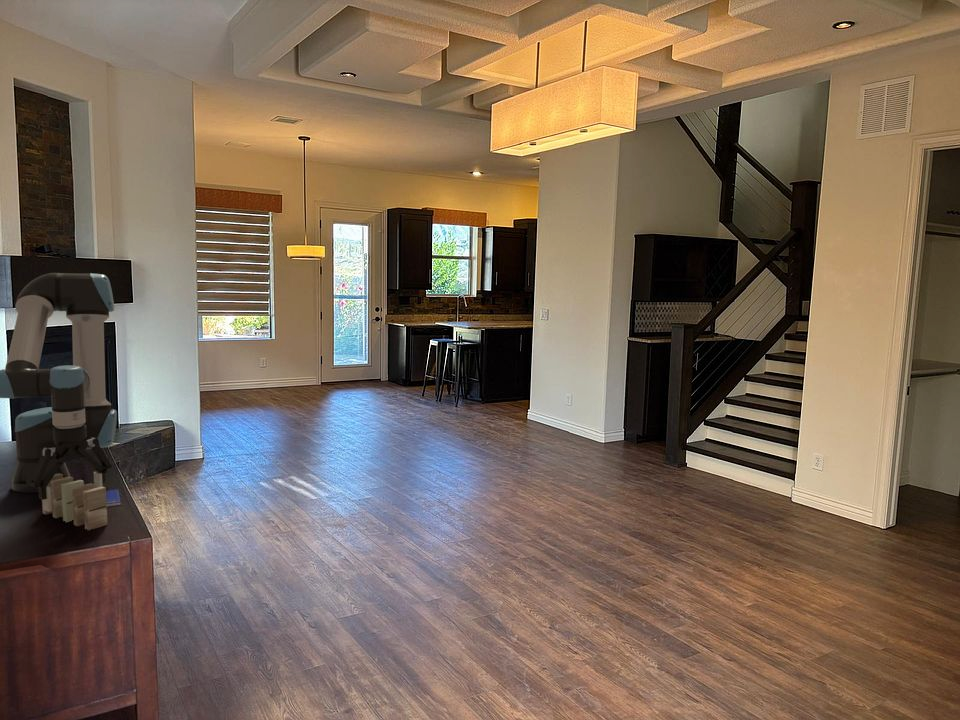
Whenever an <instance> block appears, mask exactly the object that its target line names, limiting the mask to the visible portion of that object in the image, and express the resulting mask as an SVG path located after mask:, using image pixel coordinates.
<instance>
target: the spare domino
mask: <svg viewBox="0 0 960 720" xmlns="http://www.w3.org/2000/svg"><path fill="white" fill-rule="evenodd" d="M82 485H85V482H84V480H82V479H77V480H73V482H69V483H65V484H61V490H62V508H63V517H62V521H63V522H64V521H65V523H69V522H73V521H74V515H73V496H72V488H74V487H78V486H82ZM72 520H73V521H72Z"/></svg>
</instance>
